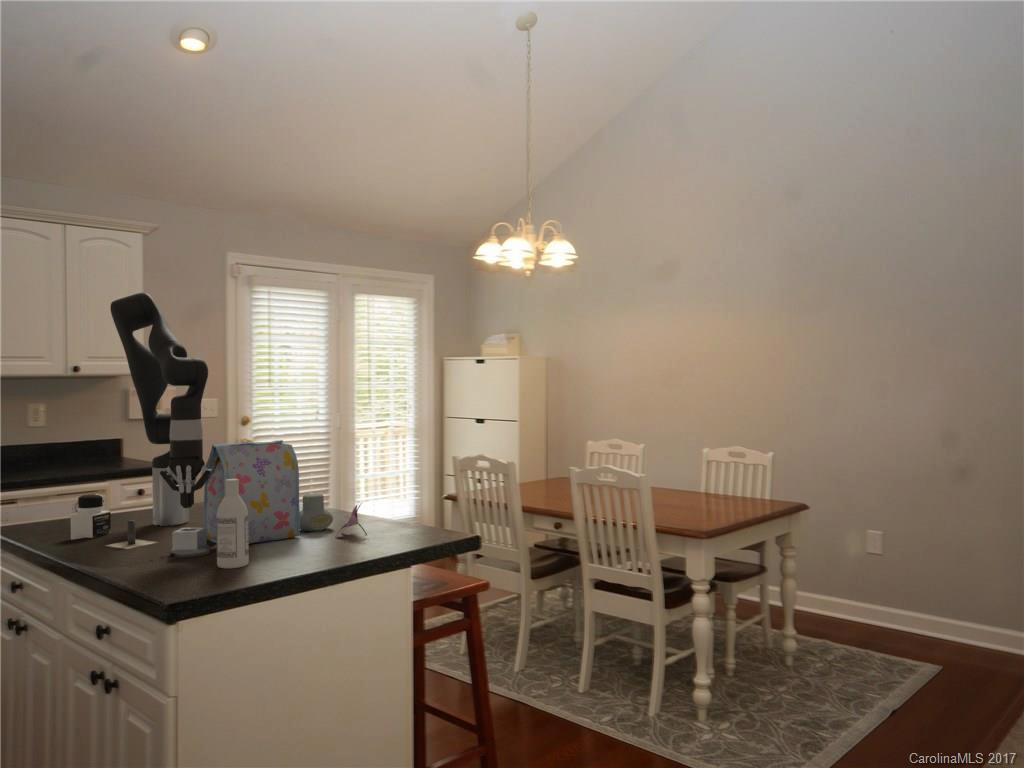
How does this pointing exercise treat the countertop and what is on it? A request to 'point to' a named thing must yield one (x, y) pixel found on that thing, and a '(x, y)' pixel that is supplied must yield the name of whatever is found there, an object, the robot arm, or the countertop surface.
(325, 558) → the countertop surface
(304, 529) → the air freshener
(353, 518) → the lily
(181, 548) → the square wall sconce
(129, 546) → the stand
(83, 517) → the medicine bottle
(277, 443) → the lunch bag
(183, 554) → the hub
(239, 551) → the bath foam
